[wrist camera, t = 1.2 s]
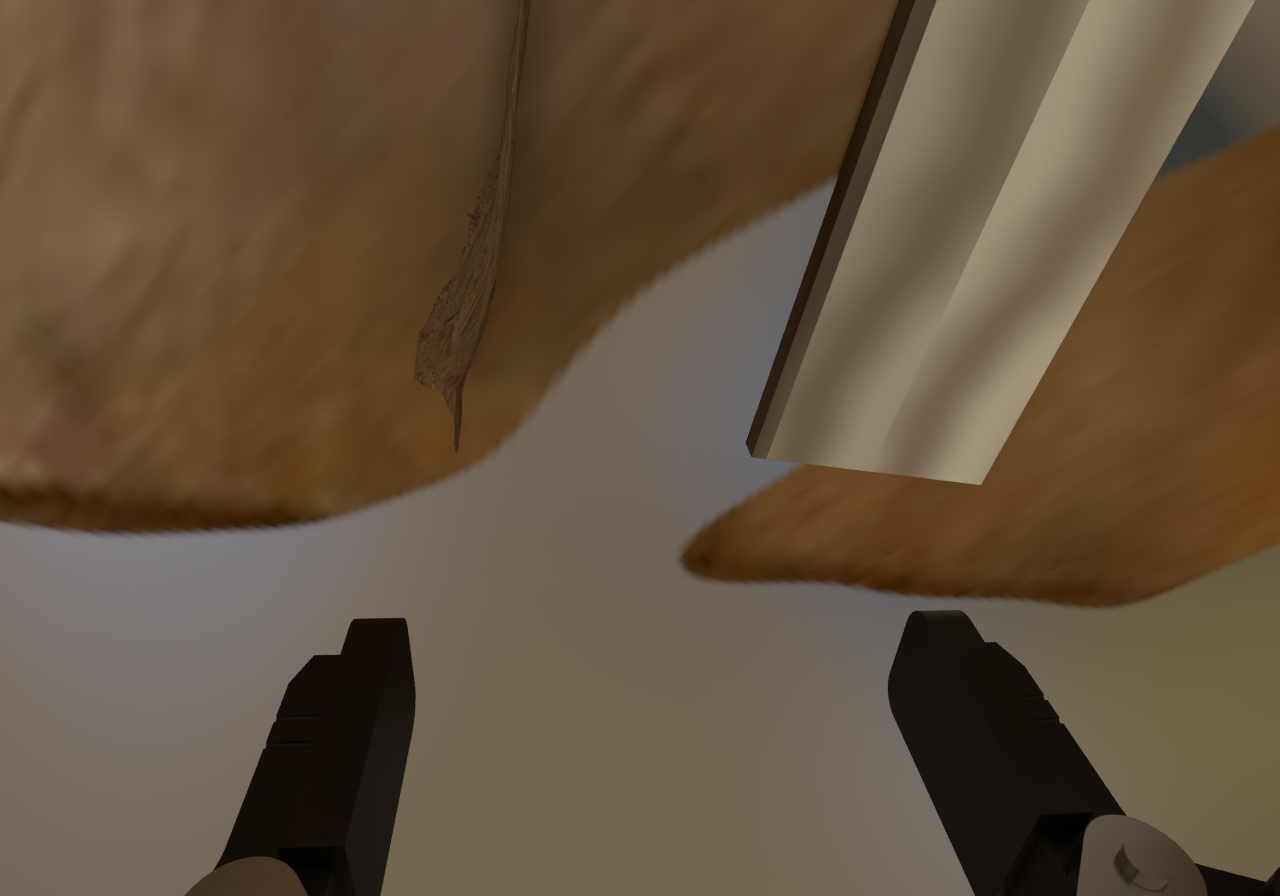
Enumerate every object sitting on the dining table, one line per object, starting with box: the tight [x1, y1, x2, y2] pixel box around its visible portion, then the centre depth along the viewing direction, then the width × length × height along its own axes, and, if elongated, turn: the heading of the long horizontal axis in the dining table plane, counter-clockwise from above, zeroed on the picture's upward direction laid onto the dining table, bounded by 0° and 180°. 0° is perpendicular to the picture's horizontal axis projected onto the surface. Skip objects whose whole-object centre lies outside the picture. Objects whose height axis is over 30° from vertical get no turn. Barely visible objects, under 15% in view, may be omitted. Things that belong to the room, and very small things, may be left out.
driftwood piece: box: [414, 0, 531, 453], centre depth 21 cm, size 15×2×5 cm, turn 165°
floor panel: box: [746, 0, 1255, 485], centre depth 25 cm, size 10×20×1 cm, turn 168°
